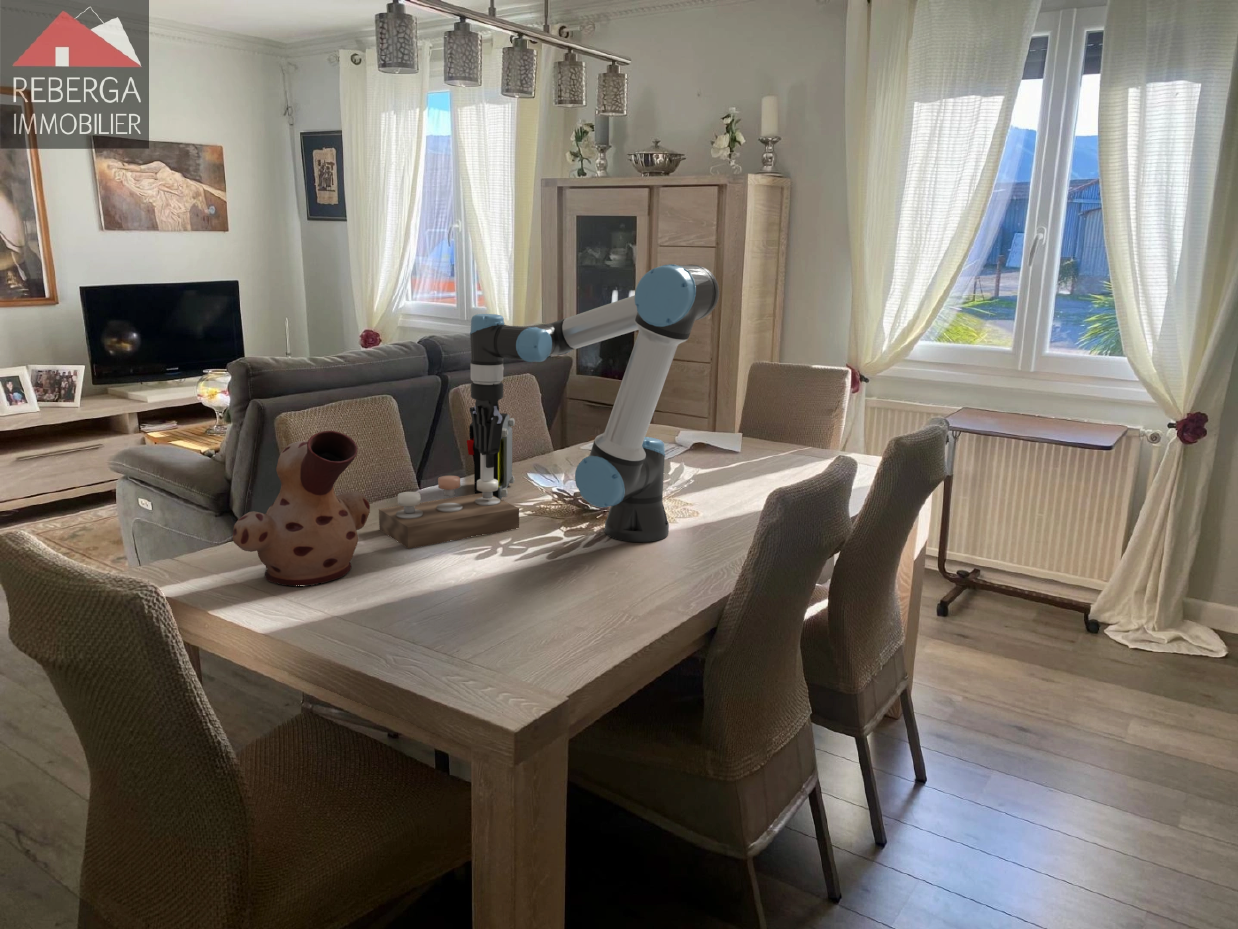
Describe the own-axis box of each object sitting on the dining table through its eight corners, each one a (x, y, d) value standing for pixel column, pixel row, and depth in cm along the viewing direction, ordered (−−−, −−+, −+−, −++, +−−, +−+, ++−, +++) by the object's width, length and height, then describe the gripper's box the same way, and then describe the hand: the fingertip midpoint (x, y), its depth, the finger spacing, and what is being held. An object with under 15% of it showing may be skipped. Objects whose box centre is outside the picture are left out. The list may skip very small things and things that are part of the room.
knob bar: (519, 528, 218) (519, 506, 217) (408, 548, 202) (407, 525, 201) (486, 511, 231) (486, 490, 229) (379, 529, 214) (378, 506, 213)
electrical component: (506, 502, 240) (506, 426, 235) (467, 500, 240) (466, 425, 235) (515, 484, 257) (515, 413, 252) (478, 483, 257) (478, 412, 252)
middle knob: (464, 496, 214) (463, 479, 213) (444, 499, 211) (444, 482, 210) (454, 491, 218) (454, 474, 217) (434, 493, 215) (434, 477, 214)
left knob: (424, 512, 209) (424, 495, 208) (403, 516, 206) (403, 498, 205) (415, 507, 212) (414, 490, 212) (394, 510, 210) (394, 493, 209)
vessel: (332, 545, 203) (326, 411, 196) (408, 566, 192) (404, 424, 185) (217, 584, 179) (205, 433, 171) (296, 610, 168) (287, 450, 160)
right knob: (501, 498, 220) (501, 482, 219) (483, 501, 217) (483, 484, 216) (491, 493, 224) (491, 477, 223) (473, 496, 221) (473, 480, 220)
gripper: (515, 384, 211) (514, 484, 217) (487, 376, 221) (487, 471, 227) (486, 386, 207) (486, 488, 212) (459, 378, 217) (460, 475, 223)
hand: (487, 479), depth 220 cm, fingers closed
